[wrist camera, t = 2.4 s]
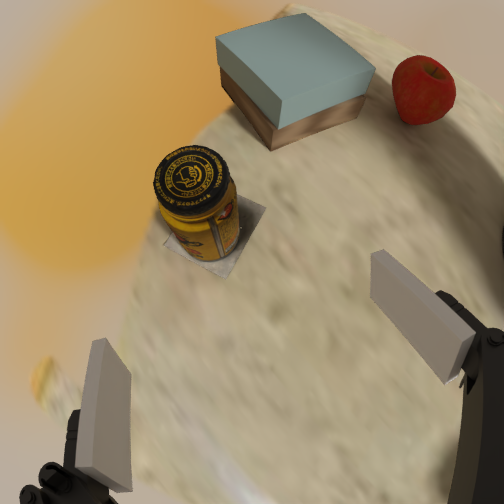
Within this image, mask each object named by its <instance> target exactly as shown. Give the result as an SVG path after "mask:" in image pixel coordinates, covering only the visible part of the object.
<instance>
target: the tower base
mask: <svg viewBox="0 0 504 504" xmlns="http://www.w3.org/2000/svg"><path fill="white" fill-rule="evenodd" d="M220 73H221V86H222V88H223V89H224V90H225V92H226V93H227V94H228V96H229V97H230V98H231V100H232V101H233V103H234V102H235V103H236V104H237V106H238V107H239V108H240V110H241V111H242V112H243V114H244V115H245V116H246V118H247V119H248V120H249V122H250V123H251V125H252V126H253V127H254V129H255V130H256V131H257V133H258V134H259V136H260V137H261V138H262V140H263V141H264V143H265V144H266V146H267V147H268V148H269V150H270V151H273V150H276V149H278V148H281V147H283V146H285V145H288V144H290V143H293V142H295V141H298V140H300V139H303V138H305V137H308V136H310V135H313V134H315V133H318V132H320V131H323V130H326V129H328V128H331V127H334V126H336V125H339V124H342V123H344V122H347V121H350V120H353V119H355V118H357V117H358V114H359V112H360V110H361V108H362V106H363V103H364V101H365V99H366V98H365V97H364V96H363V95H360V96H357V97H355V98H352V99H349V100H347V101H344V102H342V103H339V104H337V105H334V106H332V107H329V108H327V109H324V110H322V111H320V112H317V113H315V114H312V115H310V116H308V117H305V118H303V119H301V120H299V121H296V122H294V123H292V124H290V125H287V126H285V127H283V128H281V129H279V130H278V129H277V128H276V126H275V125H274V124H273V123H272V122H271V121H270V120H269V118H268V117H267V116H266V115H265V114H264V113H263V112H262V110H261V109H260V108H259V107H258V106H257V105H256V104H255V103H254V102H253V101H252V99H251V98H250V97H249V96H248V95H247V94H246V93H245V92H244V91H243V90H242V89H241V88H240V86H239V85H238V84H237V83H236V82H235V81H234V80H233V79H232V78H231V77H230V76H229V75H228V74H227V73H226V72H225V71H224V70H223V69H222V68H221V67H220Z"/></svg>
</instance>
